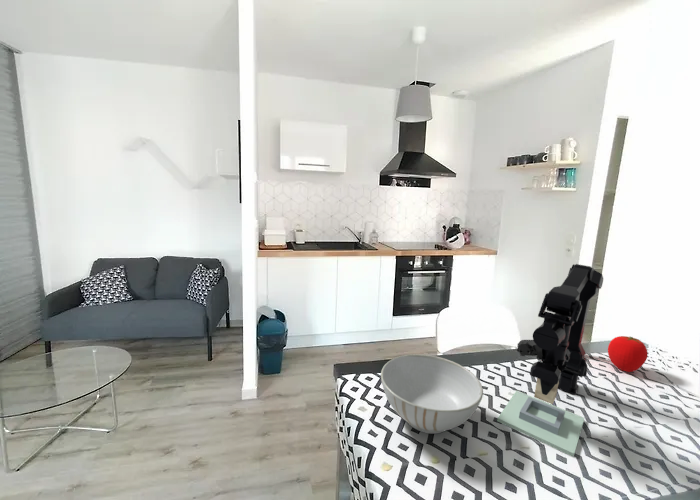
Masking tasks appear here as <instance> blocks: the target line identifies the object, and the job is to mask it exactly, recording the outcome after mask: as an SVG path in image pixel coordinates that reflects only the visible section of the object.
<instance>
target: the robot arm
mask: <svg viewBox="0 0 700 500" xmlns="http://www.w3.org/2000/svg"><path fill="white" fill-rule="evenodd" d="M603 284H604V276H603V274H602V273H601V272H599V271H597V270H595V269H594V267H592V266H589V265H585V264H584V265H583V264H577V263H576V264H572V265H571V267H570V268H569V271H568V274H567V276H566V278H565V279H564V280H563V282H562V284H561V285H558V286H554V287H552V289H550V290H549V291H548V292H546V293H545V296H544V297H543V301H542V302H541V303H542V304H541V306H540V309H539V312H538V315H537V317H538V318H542V319H543V322H542V323H541V324H540V326H538V327H537V328H535V330H534V331H533V333H532V339H521V340H520V341H519V342H518V343H517V348H516V351H517V353H519V356H521V357H526V356H530V357H531V356H532V357H533V356H536V359H537V361H535V362H534V363H532V365H531V367H530V371H529V375H530V376H531V377H534V378H536V379H537V378H539V379H540V382H541V389H542V394H544V395H547V394H548V393H549V392H550V390H551V389H552V388H553V387H554V386H555V384H558V382H559V384H558V389H557V390H562V391H563V392H567V393H570V394H572V395H576V394H577V393H578V392H577V391H578V389H579V384H578V379H579V377H580V378H583V377H587V375H588V363H587V359H586V358H585V356H586V350H585V348H584V347H583V344H582V341H583V337H584V331H585V326H586V321H587V317H588V313H589V312H588V311H589V306H590V301H591V299H592V298H593V297H595V296H596V295H597V294H598V293H599V290H601V289H602V287H603ZM538 360H540V361H538Z"/></svg>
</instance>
